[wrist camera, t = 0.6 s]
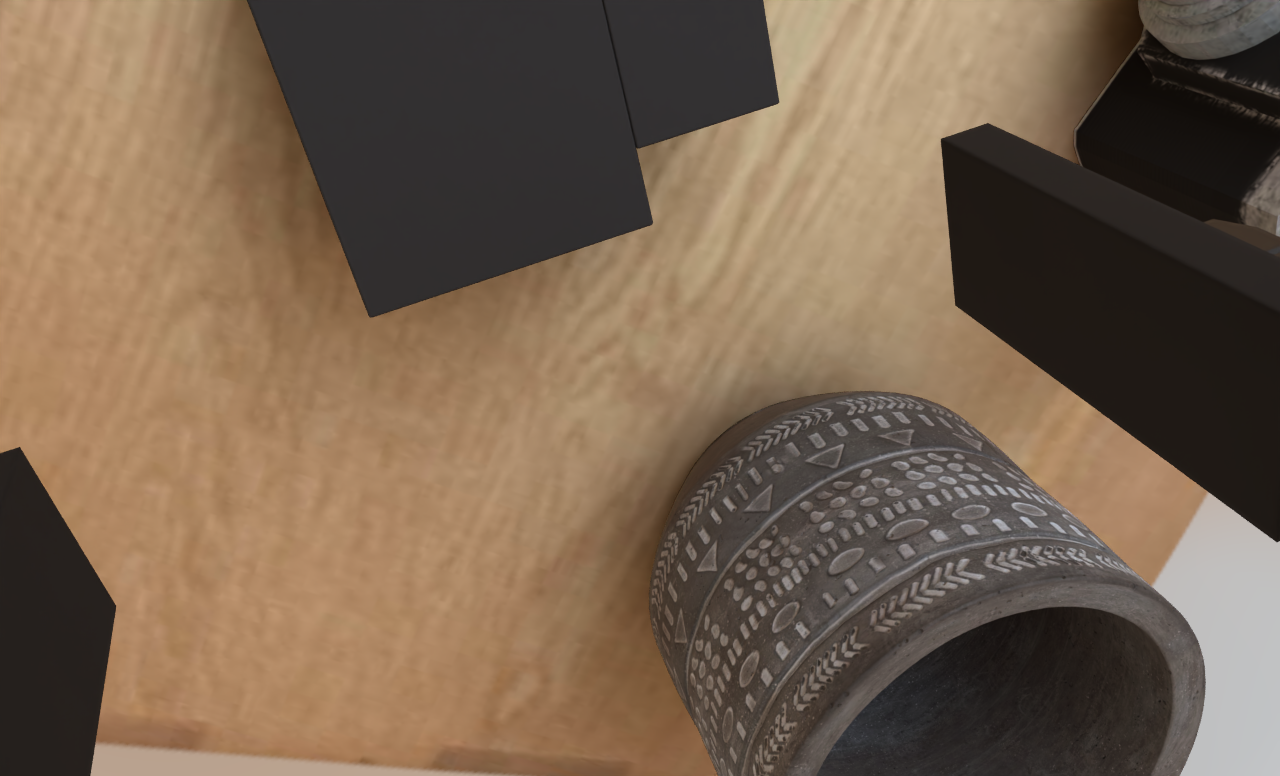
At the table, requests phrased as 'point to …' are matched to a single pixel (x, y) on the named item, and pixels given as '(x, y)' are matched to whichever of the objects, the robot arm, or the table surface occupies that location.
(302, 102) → the pad
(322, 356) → the table surface
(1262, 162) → the camera
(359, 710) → the table surface
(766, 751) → the planter
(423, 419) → the table surface
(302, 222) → the table surface
